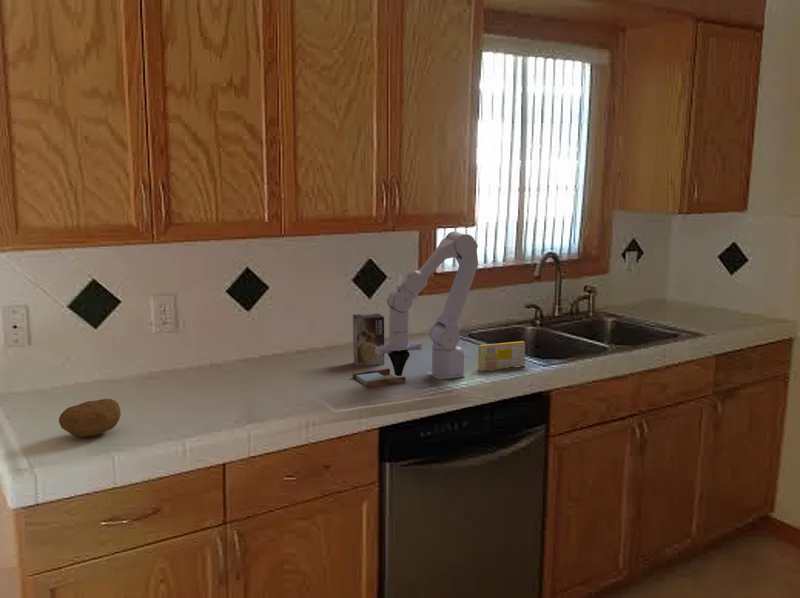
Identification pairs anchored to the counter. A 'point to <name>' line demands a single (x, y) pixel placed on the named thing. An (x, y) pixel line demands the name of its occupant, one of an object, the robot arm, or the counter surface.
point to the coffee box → (367, 339)
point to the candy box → (501, 355)
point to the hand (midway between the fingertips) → (398, 375)
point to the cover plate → (369, 377)
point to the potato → (90, 418)
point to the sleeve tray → (383, 382)
